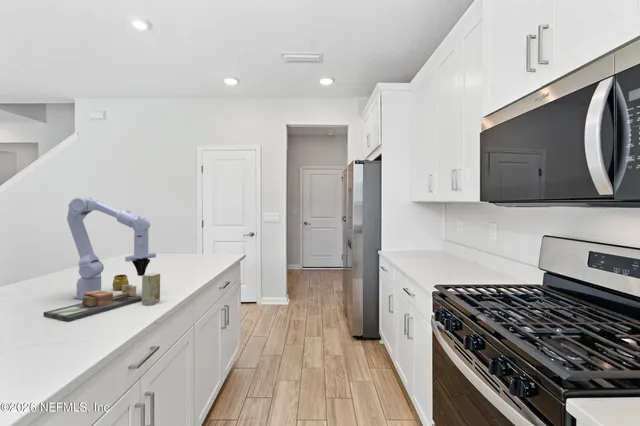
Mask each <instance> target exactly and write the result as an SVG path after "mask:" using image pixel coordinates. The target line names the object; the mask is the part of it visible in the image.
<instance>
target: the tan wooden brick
mask: <svg viewBox="0 0 640 426" xmlns="http://www.w3.org/2000/svg"><path fill="white" fill-rule="evenodd" d="M111 293H112V301H113V300H114V299H118V298H122V297H125V296H135V295H137V286H136V285H132V284H129V285H122V290H121V293H116V294H113V292H111ZM81 300H82V301H81V303H82V305H85V306H95V305H97V297H96V296H85V297H82V299H81Z"/></svg>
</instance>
